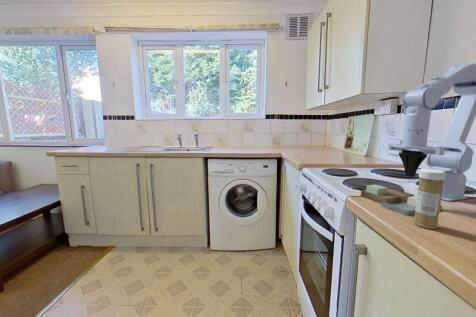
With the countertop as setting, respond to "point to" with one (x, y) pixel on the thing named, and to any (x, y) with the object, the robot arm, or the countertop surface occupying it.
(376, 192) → the green tile
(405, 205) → the tray
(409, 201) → the cream tile
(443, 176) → the sprinkles bottle
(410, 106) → the robot arm
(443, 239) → the countertop surface
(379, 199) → the walnut board
